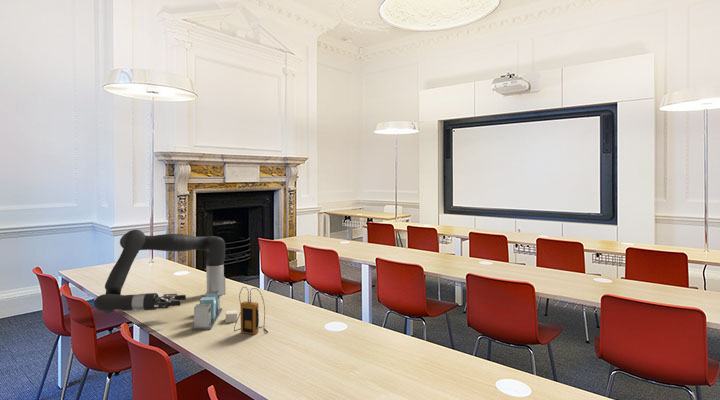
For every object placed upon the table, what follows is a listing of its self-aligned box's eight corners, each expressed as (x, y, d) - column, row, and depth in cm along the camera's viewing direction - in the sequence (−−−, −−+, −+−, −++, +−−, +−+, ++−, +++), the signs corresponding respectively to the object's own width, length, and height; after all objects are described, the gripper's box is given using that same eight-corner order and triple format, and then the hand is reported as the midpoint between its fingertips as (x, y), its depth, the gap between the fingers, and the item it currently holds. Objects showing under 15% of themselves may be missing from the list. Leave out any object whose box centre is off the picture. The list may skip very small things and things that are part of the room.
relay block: (227, 319, 185) (226, 310, 185) (238, 318, 186) (238, 310, 186) (225, 322, 180) (225, 314, 180) (237, 322, 181) (237, 313, 181)
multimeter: (275, 328, 173) (274, 283, 173) (262, 336, 164) (262, 289, 163) (246, 324, 178) (246, 280, 177) (233, 331, 169) (232, 286, 168)
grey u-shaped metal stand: (205, 310, 196) (205, 291, 195) (222, 310, 197) (222, 290, 197) (191, 330, 170) (191, 307, 170) (211, 329, 171) (210, 306, 171)
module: (202, 316, 185) (202, 297, 185) (216, 315, 186) (216, 296, 186) (200, 319, 181) (199, 300, 180) (214, 318, 182) (214, 299, 181)
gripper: (139, 298, 172) (178, 296, 174) (150, 289, 186) (187, 287, 188) (139, 315, 172) (178, 313, 175) (151, 305, 186) (187, 303, 189)
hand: (183, 300), depth 181 cm, fingers open, 8 cm apart
